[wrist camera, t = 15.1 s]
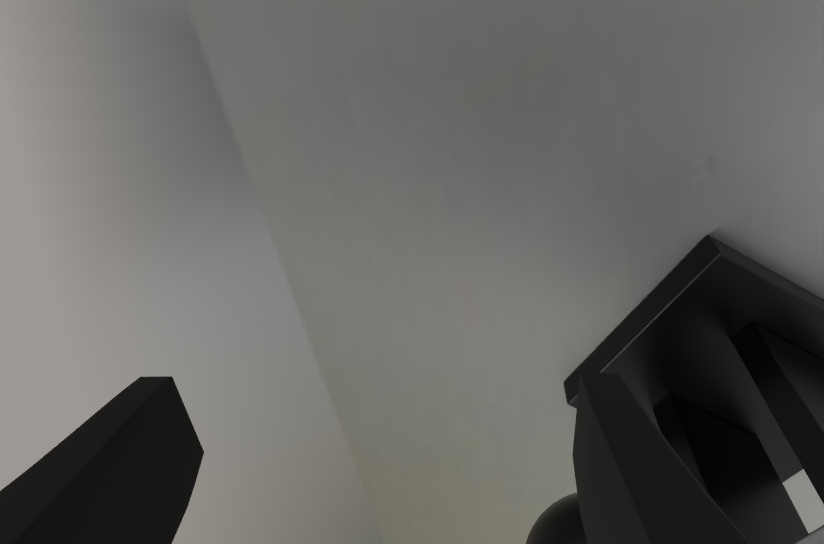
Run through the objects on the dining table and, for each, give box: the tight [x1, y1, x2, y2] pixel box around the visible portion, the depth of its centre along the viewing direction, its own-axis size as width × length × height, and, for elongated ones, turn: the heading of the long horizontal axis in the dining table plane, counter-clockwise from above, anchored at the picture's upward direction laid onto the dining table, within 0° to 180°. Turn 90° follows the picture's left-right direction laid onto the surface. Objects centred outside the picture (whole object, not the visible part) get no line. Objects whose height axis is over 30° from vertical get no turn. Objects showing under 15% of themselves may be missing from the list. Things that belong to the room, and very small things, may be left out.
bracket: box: [564, 235, 824, 544], centre depth 18 cm, size 10×8×10 cm
